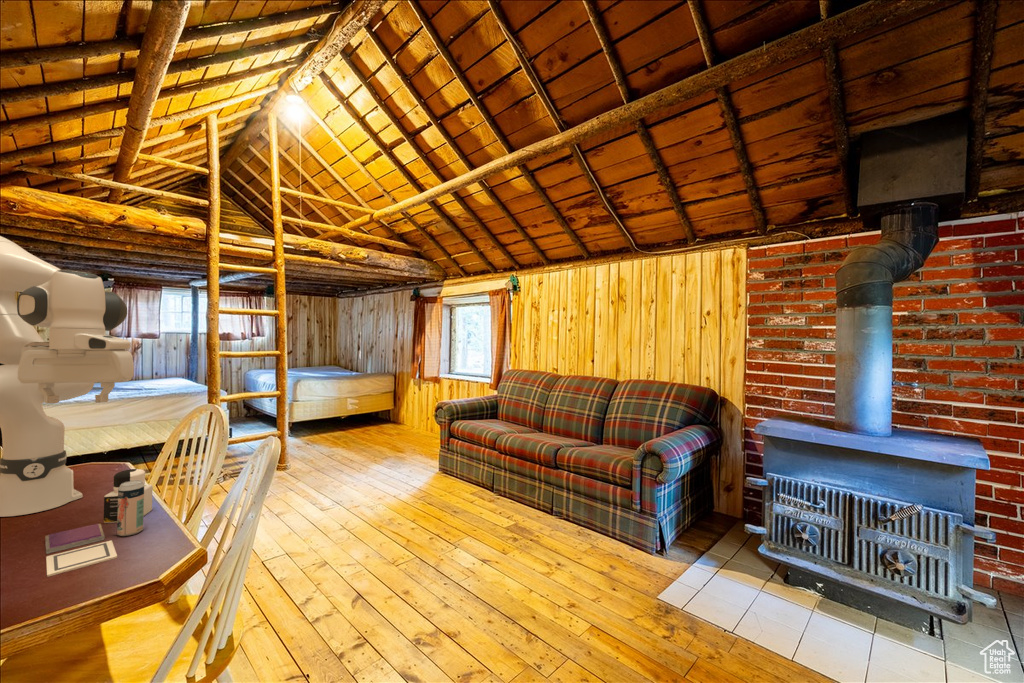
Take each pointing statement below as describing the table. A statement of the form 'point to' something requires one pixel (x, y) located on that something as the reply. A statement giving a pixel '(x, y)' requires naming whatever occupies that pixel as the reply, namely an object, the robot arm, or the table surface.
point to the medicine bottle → (112, 497)
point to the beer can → (130, 508)
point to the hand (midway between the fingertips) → (77, 402)
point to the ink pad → (74, 538)
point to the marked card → (80, 558)
